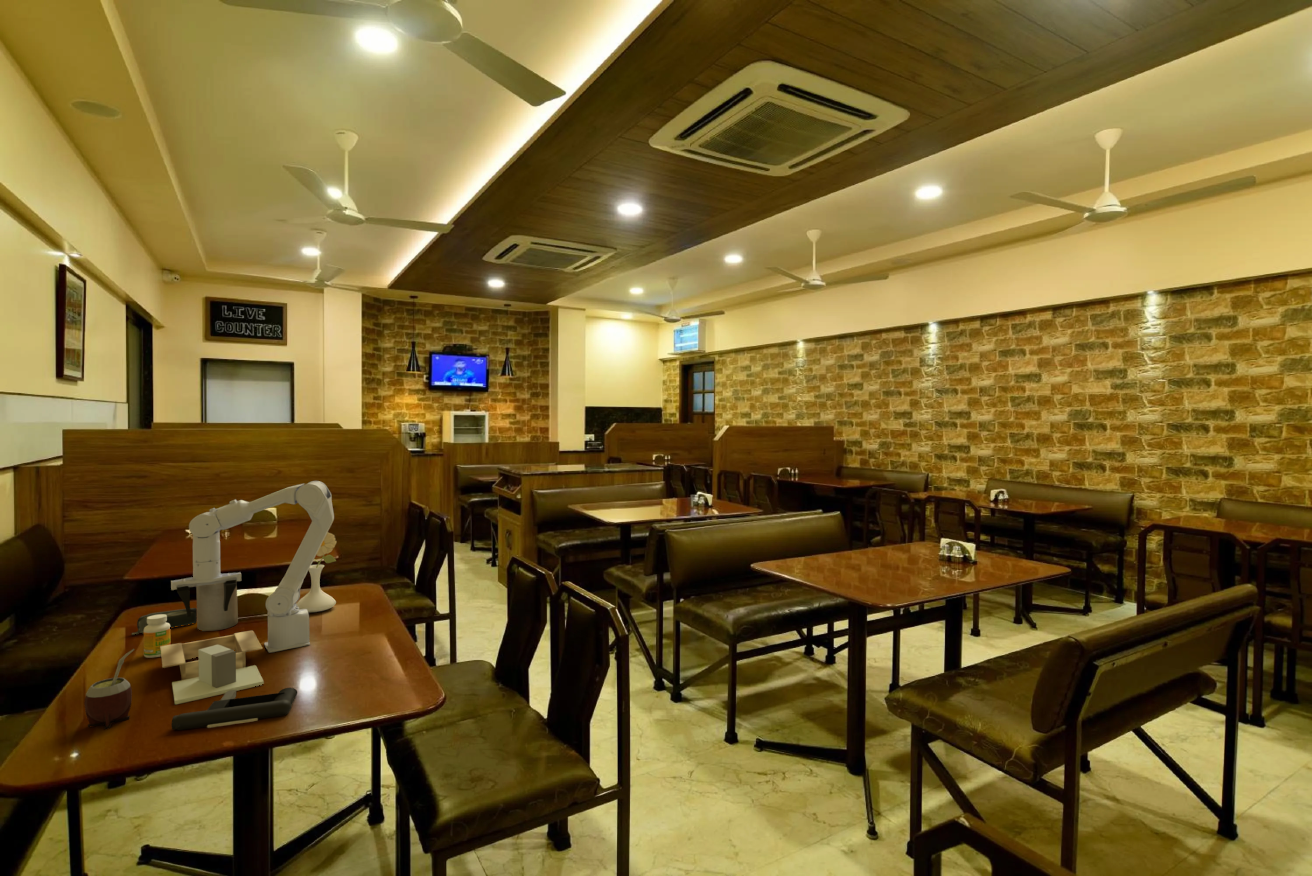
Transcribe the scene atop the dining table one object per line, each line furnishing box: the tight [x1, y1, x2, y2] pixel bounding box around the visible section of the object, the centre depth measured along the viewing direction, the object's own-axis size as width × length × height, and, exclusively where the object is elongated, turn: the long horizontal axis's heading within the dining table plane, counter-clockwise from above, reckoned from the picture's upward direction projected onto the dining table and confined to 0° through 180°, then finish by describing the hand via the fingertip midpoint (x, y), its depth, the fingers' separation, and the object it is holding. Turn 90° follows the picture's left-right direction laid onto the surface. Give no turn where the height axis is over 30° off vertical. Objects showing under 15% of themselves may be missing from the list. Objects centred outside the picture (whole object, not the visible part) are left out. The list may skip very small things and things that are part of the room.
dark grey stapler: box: [131, 607, 197, 636], centre depth 180 cm, size 5×3×15 cm
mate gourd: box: [83, 648, 135, 730], centre depth 125 cm, size 8×8×15 cm
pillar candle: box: [195, 581, 239, 632], centre depth 183 cm, size 10×10×15 cm
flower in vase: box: [296, 531, 337, 613], centre depth 198 cm, size 13×11×25 cm
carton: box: [160, 630, 263, 680], centre depth 154 cm, size 19×16×4 cm
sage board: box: [171, 664, 265, 705], centre depth 143 cm, size 16×12×1 cm
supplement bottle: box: [143, 614, 172, 659], centre depth 161 cm, size 5×5×10 cm
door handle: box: [170, 687, 298, 731], centre depth 131 cm, size 3×20×16 cm
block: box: [198, 645, 236, 688], centre depth 143 cm, size 4×8×7 cm, turn 59°
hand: (207, 612), depth 162 cm, fingers open, 7 cm apart
